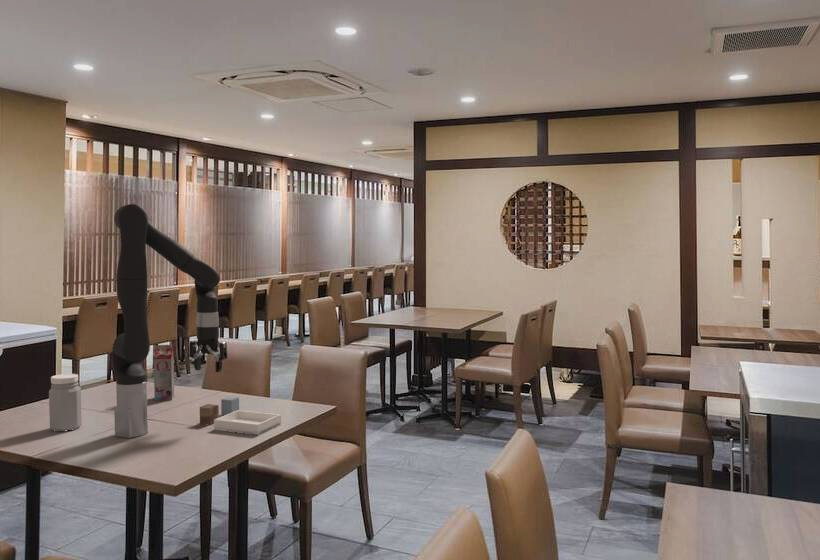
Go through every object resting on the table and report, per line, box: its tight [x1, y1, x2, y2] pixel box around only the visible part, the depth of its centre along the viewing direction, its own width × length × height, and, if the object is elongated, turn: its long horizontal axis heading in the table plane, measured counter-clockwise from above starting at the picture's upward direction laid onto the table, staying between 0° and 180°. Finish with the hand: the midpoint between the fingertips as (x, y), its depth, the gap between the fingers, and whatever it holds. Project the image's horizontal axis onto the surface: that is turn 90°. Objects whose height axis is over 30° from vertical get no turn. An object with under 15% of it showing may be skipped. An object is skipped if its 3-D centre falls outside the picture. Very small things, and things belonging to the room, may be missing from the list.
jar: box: [48, 373, 83, 432], centre depth 216 cm, size 10×10×18 cm
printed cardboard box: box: [153, 344, 175, 402], centre depth 259 cm, size 7×7×22 cm
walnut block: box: [199, 403, 220, 426], centre depth 224 cm, size 4×4×6 cm
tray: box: [213, 409, 282, 436], centre depth 218 cm, size 14×18×4 cm
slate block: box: [220, 396, 240, 416], centre depth 235 cm, size 4×4×6 cm
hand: (208, 370), depth 223 cm, fingers open, 8 cm apart
